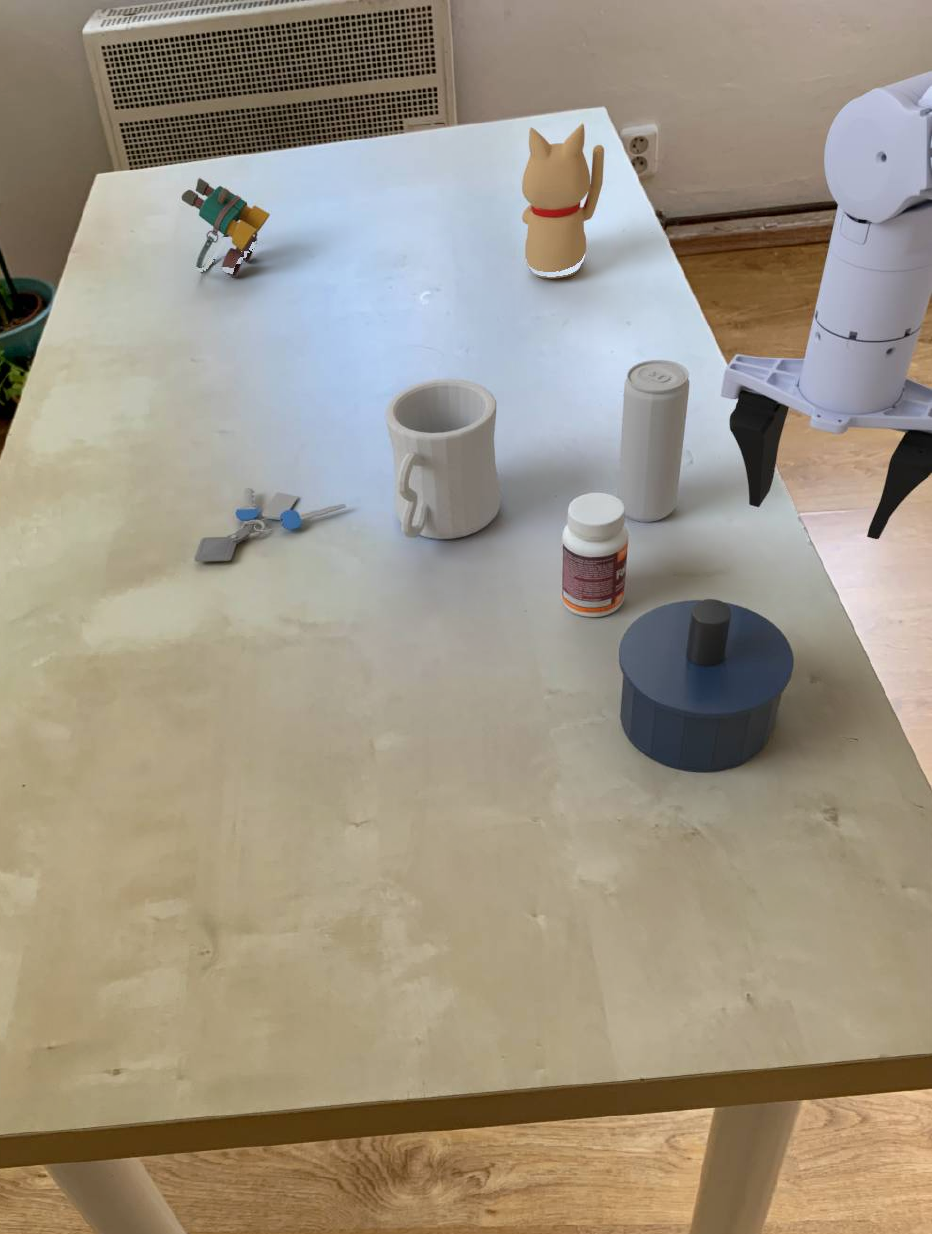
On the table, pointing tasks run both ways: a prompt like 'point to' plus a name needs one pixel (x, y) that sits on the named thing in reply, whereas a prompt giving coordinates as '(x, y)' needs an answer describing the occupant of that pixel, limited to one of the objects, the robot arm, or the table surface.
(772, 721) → the pot
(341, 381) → the table surface
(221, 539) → the key chain
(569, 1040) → the table surface
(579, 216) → the figurine
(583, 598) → the pill bottle
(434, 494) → the mug
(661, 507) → the beverage can
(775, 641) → the lid
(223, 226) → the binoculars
